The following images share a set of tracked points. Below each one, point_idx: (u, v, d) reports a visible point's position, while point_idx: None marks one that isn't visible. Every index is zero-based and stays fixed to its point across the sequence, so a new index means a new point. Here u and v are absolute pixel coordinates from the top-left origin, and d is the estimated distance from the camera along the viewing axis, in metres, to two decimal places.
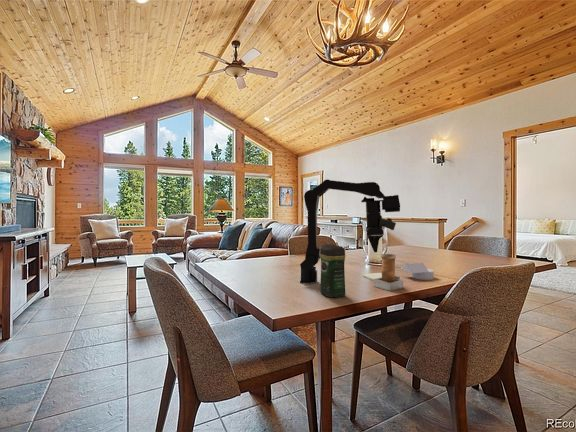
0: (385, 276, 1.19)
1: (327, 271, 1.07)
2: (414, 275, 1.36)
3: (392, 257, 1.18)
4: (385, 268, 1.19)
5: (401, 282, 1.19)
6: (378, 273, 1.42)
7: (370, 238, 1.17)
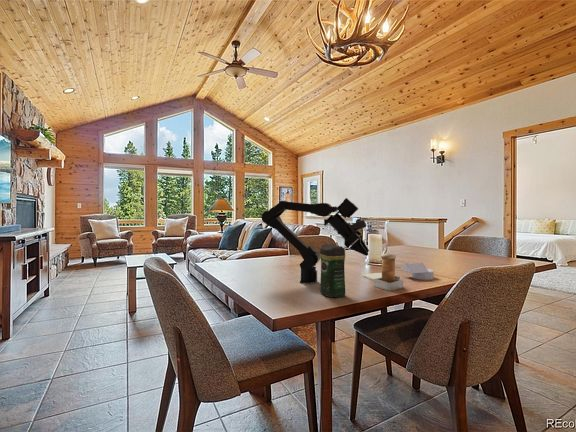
0: (385, 276, 1.19)
1: (327, 271, 1.07)
2: (414, 275, 1.36)
3: (392, 257, 1.18)
4: (385, 268, 1.19)
5: (401, 282, 1.19)
6: (378, 273, 1.42)
7: (353, 248, 1.18)
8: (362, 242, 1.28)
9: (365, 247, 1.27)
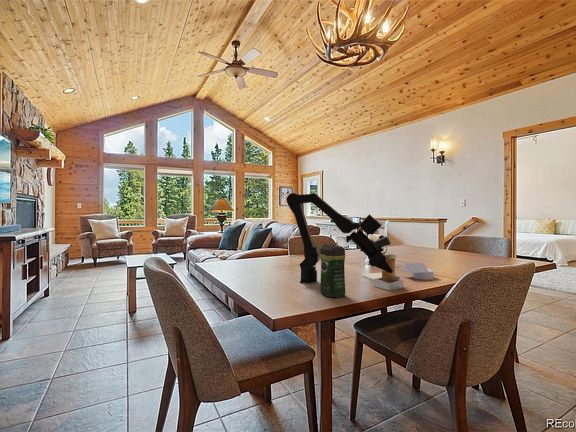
0: (385, 276, 1.19)
1: (327, 271, 1.07)
2: (414, 275, 1.36)
3: (392, 257, 1.18)
4: None
5: (401, 282, 1.19)
6: (378, 273, 1.42)
7: (378, 265, 1.17)
8: None
9: None
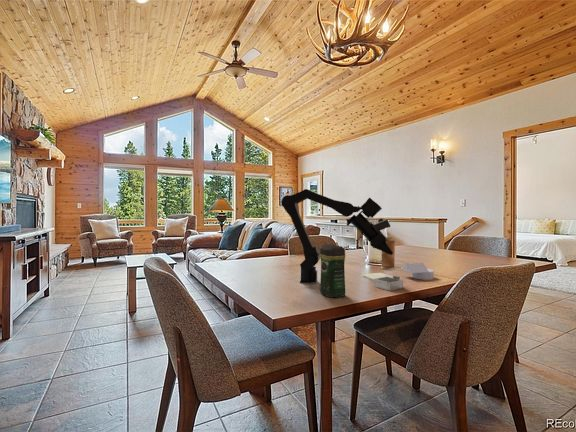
0: (385, 258, 1.20)
1: (327, 271, 1.07)
2: (414, 275, 1.36)
3: (392, 239, 1.19)
4: None
5: (401, 282, 1.19)
6: (378, 273, 1.42)
7: (378, 247, 1.19)
8: None
9: None
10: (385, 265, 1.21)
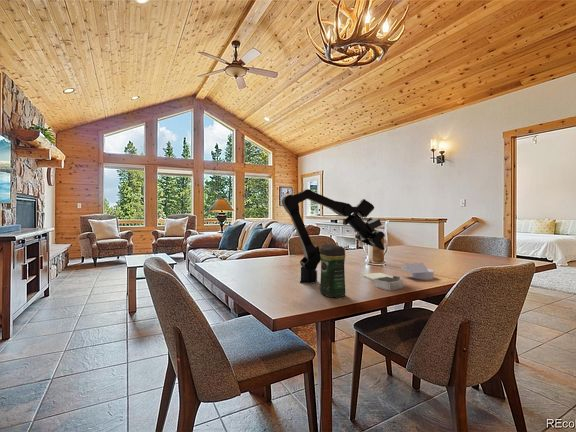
0: (378, 253, 1.34)
1: (327, 271, 1.07)
2: (414, 275, 1.36)
3: (384, 236, 1.34)
4: None
5: (401, 282, 1.19)
6: (378, 273, 1.42)
7: None
8: None
9: None
10: (378, 260, 1.34)
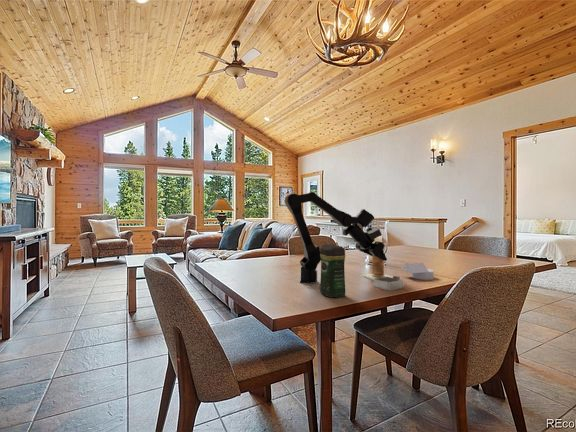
0: (377, 267, 1.34)
1: (327, 271, 1.07)
2: (414, 275, 1.36)
3: (383, 249, 1.34)
4: (378, 260, 1.34)
5: (401, 282, 1.19)
6: None
7: (377, 255, 1.29)
8: None
9: None
10: (378, 273, 1.35)
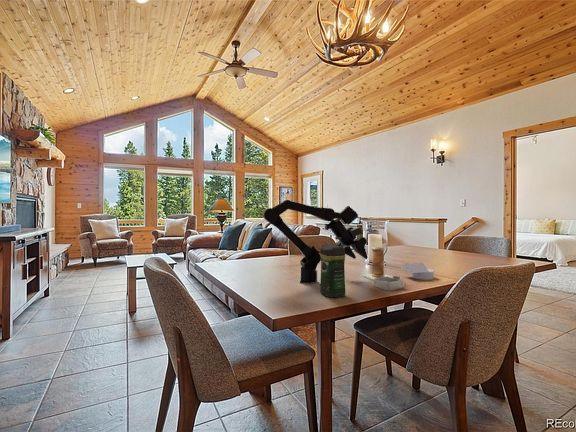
0: (377, 267, 1.34)
1: (327, 271, 1.07)
2: (414, 275, 1.36)
3: (383, 249, 1.35)
4: (378, 260, 1.34)
5: (401, 282, 1.19)
6: None
7: (359, 251, 1.27)
8: (350, 249, 1.38)
9: (353, 254, 1.38)
10: (378, 273, 1.35)
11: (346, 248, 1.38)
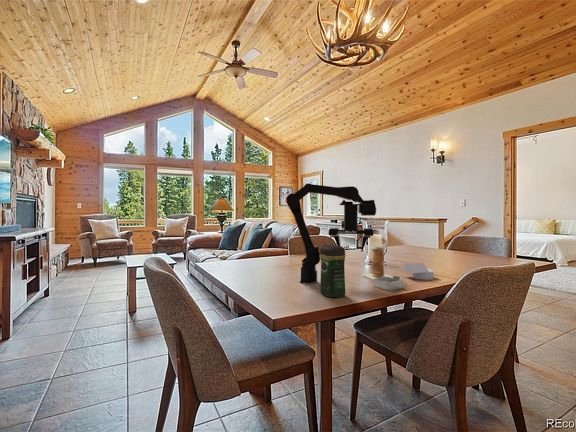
0: (377, 267, 1.34)
1: (327, 271, 1.07)
2: (414, 275, 1.36)
3: (383, 249, 1.35)
4: (378, 260, 1.34)
5: (401, 282, 1.19)
6: None
7: None
8: (339, 241, 1.32)
9: None
10: (378, 273, 1.35)
11: (339, 237, 1.30)
